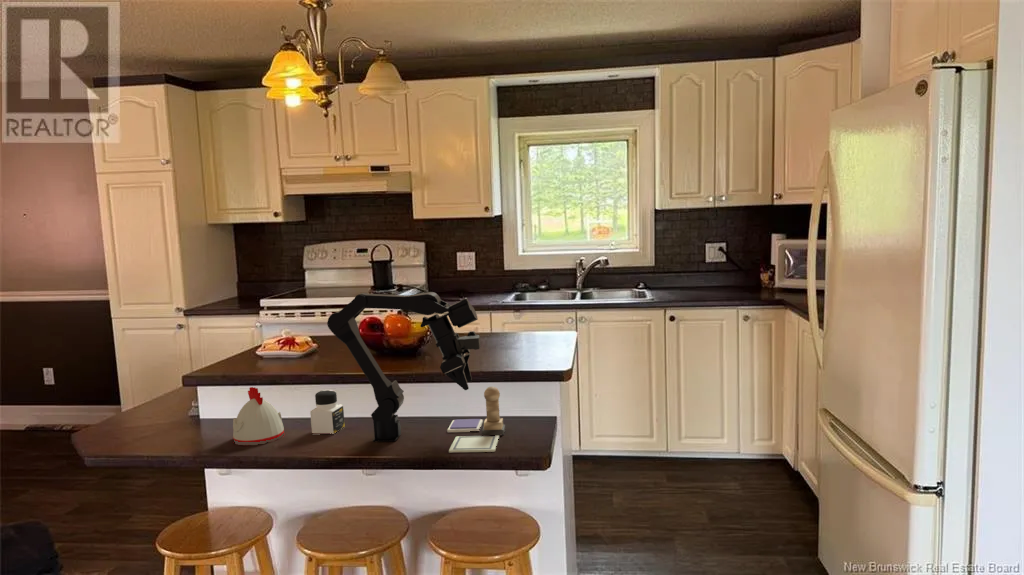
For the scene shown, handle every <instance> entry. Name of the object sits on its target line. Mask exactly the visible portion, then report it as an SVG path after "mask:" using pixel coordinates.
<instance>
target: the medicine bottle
mask: <svg viewBox="0 0 1024 575" xmlns="http://www.w3.org/2000/svg"><path fill="white" fill-rule="evenodd" d="M337 395H338V394H337V392H336V390H333V389H324V390H321V391H317V392H316V393H315V395H314V398H315V399H314V400H315V406H316V407H315V408H313V409H311V410H310V411H309V412H310V413H309V414H310V424H311V425H310V426H311V433H330V434H331V433H332V434H334V433H336V432H337V431H339V430H340V429H341V430H343V429H344V428H345V412H344V405H343V404H340V403H339V404H338V398H337V397H338V396H337ZM343 427H344V428H343ZM342 428H343V429H342ZM341 430H340V431H341ZM340 431H339V432H340ZM337 433H338V432H337ZM337 433H336V434H337ZM334 435H335V434H334Z"/></svg>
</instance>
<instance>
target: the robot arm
mask: <svg viewBox="0 0 1024 575" xmlns="http://www.w3.org/2000/svg"><path fill="white" fill-rule="evenodd" d="M365 309H381V310H383V309H385V310H405V311H409V312H412V313H415V314H420V315H424V316H423V317H422V320H421V324H420V328H424V327H427V326H428V328H429V330H430V332H431V335H432V336H433V338H434V340H435V346H436V348H439V350H440V353H441V354H442V355H441V356H442V357H441V358H442V362H441V364H440V366H439V369H440V371H441V372H442V374H444V375H445V376H447V377H448V378H449V379H451V380H452V381H453V382H455V383H456V384H457V385H458V386H459V387H461V389H462V390H464V391H467V390H469V389H470V388H469V384H468V383H471V382H472V381H473V379H472V374H471V369H470V365H469V359H470V356H471V353H470V352H471V350H475V351H476V350H480V349H481V337H480V335H479V334H477V333H476V332H475V330H473V331H471V330H470V331H468V332H467V335H464V336H460V335H459V332H458V333H457V332H455V330H454V327H457V328H458V329H461V328H463V327H465V326H467V325H469V324H472V323H474V322H476V321H478V320H479V319H478V318H479V317H478V315H477V313H476V310H475V308H474V306H473V305H472V304H471V303H470V301H469V300H468V298H467V297H465V298H463V299H461V300H460V301H458V302H456V303H453V304H450V303H448V302H446V301H444V300H442V299H441V297H440V296H439V294H437V293H436V292H433V291H428V292H421V293H416V294H408V295H404V294H402V295H401V294H381V293H380V294H379V293H368V292H362V293H359V294H357V295H356V296H355V297H354V298H353V299H352V300H351V301H349V303H348V304H347V305H345V306H344V307H343V308H342V309H341V310H339V311H336V312H334V313H331V314H330V315H329V316H328V319H327V328H328V329H329V331H331V333H332V334H333V335H334V336H335V337H336V338H337V339H338V340H340V342H342V343H343V344H345V345H346V347H347V349H348V350H349V352H350V354H351V355H352V357H353V358H354V360H355V361H356V363H357V364H358V366H359V367H360V370H361V371H362V372H363V374H364V376H365V377H366V379H367V380H368V382H369V384H370V385H371V387H372V390H373V394H374V399H375V402H376V404H377V407H376V408H375V410H374V411H372V413H371V414H370V416H371V418H372V421H373V434H374V435H373V436H374V437H373V438H372V442H373V443H374V442H375V443H377V442H379V443H380V442H383V443H385V442H396V441H397V440H398V439H399V437H400V436H401V434H402V432H401V430H402V429H401V420H399V415H398V414H396V413H397V412H398V410H399V409H400V408H401V407H402V405H403V404H404V402H405V396H404V390H403V389H402V388H401V387H400V384H399V382H398V381H397V380H396V379H395V380H393V381H391V380H390V379H388V377H387V376H386V375H385V373H384V372H383V370H382V369H381V367H380V365H379V364H378V362H377V360H376V358H375V357H374V355H373V354H372V353H371V351H370V350H369V348H368V346H367V345H366V343H365V341H364V340H363V338H362V337H361V335H360V331H359V326H358V325H359V324H358V322H357V320H356V318H358V317H359V315H360V314H362V312H363V311H364V310H365ZM439 314H440V315H439ZM430 315H431V316H430ZM427 316H430V317H427ZM466 353H467V354H466Z"/></svg>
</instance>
